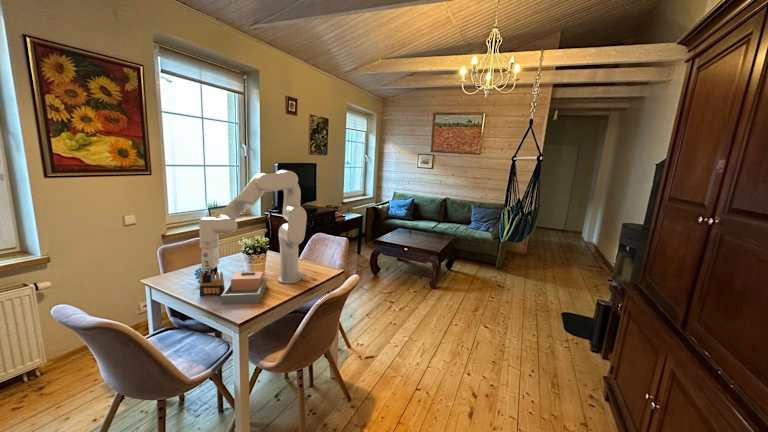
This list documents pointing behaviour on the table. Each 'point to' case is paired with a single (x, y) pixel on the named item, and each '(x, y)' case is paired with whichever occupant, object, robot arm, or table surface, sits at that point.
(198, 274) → the gear
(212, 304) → the table surface
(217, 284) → the ammunition clip
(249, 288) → the slider
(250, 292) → the grey shallow rimmed piece
